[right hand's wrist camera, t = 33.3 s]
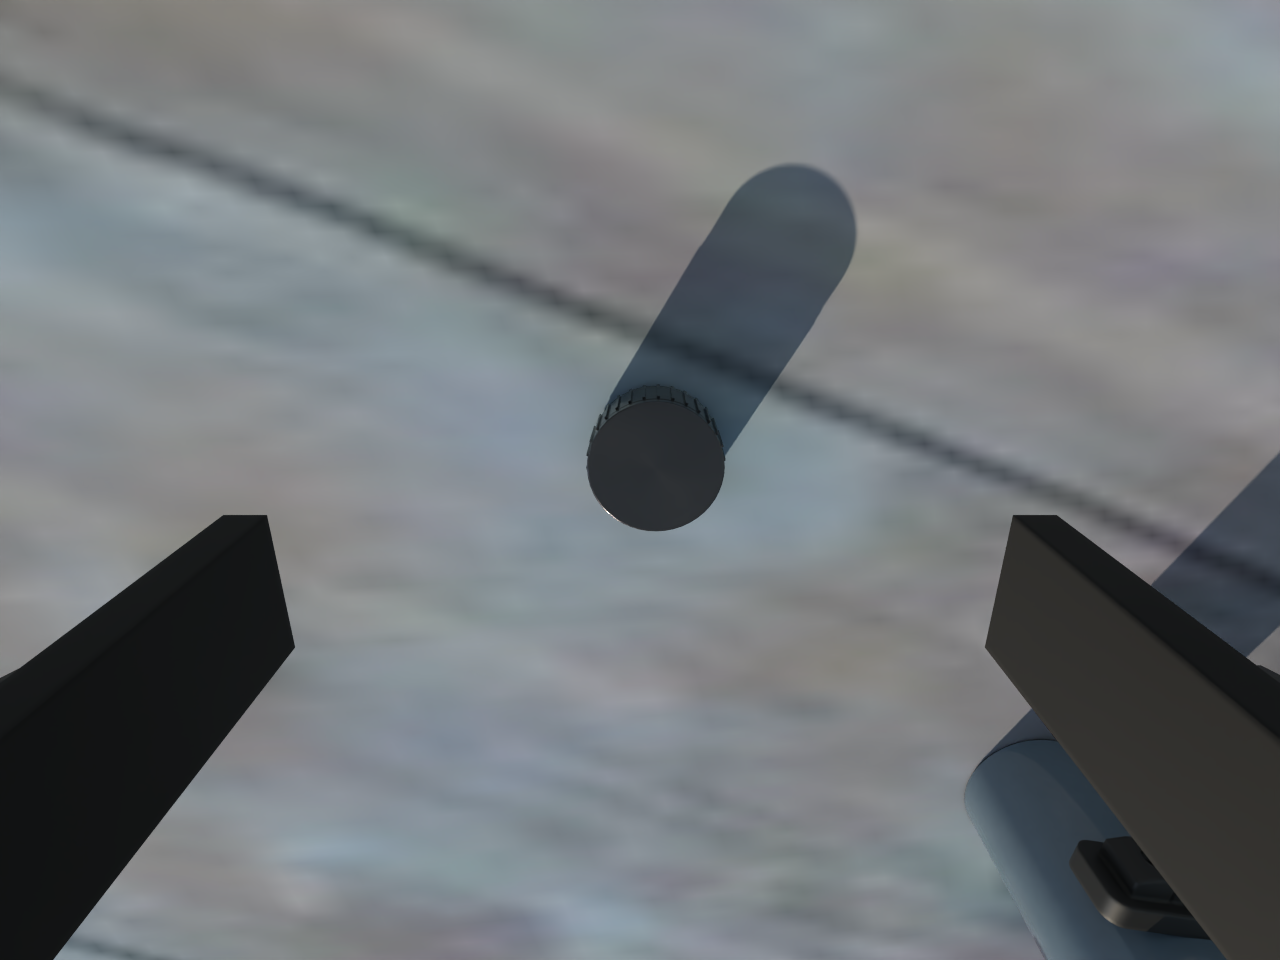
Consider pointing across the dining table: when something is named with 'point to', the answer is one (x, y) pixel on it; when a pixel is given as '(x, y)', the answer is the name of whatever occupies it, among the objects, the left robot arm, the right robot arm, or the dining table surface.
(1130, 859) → the left robot arm
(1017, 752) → the bottle
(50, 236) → the dining table surface
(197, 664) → the right robot arm
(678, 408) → the cap
